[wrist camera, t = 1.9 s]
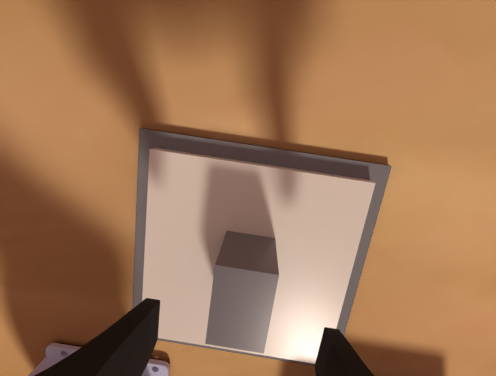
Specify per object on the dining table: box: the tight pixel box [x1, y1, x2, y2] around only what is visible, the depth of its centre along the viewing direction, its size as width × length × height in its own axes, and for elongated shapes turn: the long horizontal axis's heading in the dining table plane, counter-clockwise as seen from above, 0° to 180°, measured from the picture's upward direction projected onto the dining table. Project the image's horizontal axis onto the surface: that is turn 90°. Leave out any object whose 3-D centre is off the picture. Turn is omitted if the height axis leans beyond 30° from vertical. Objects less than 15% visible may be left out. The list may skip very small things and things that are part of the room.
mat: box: [132, 128, 391, 366], centre depth 18 cm, size 15×15×1 cm
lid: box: [142, 148, 375, 364], centre depth 15 cm, size 13×13×5 cm
